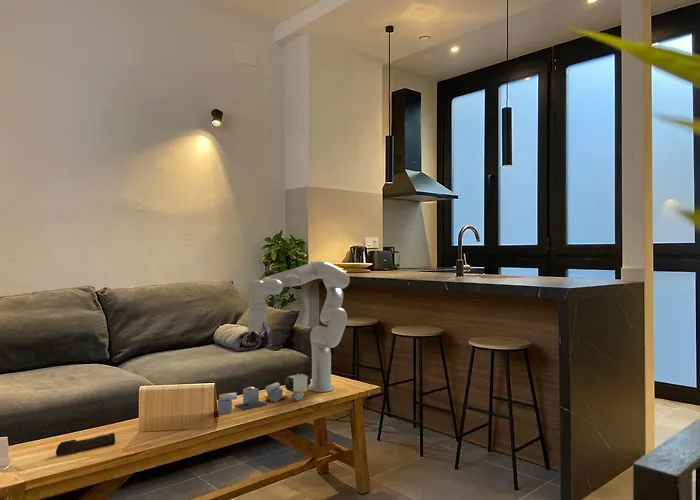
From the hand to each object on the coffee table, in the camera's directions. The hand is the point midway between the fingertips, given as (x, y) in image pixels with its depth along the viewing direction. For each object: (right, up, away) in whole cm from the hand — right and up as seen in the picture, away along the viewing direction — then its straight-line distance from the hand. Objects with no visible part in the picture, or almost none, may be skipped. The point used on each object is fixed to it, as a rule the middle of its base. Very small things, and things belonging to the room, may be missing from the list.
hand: (259, 343), depth 245 cm
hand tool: (-51, -28, -58) cm, 82 cm away
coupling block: (-2, -26, -7) cm, 27 cm away
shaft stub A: (+6, -27, +1) cm, 27 cm away
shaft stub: (-11, -27, -15) cm, 33 cm away
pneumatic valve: (+17, -27, +3) cm, 32 cm away
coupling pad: (-2, -27, -7) cm, 28 cm away
